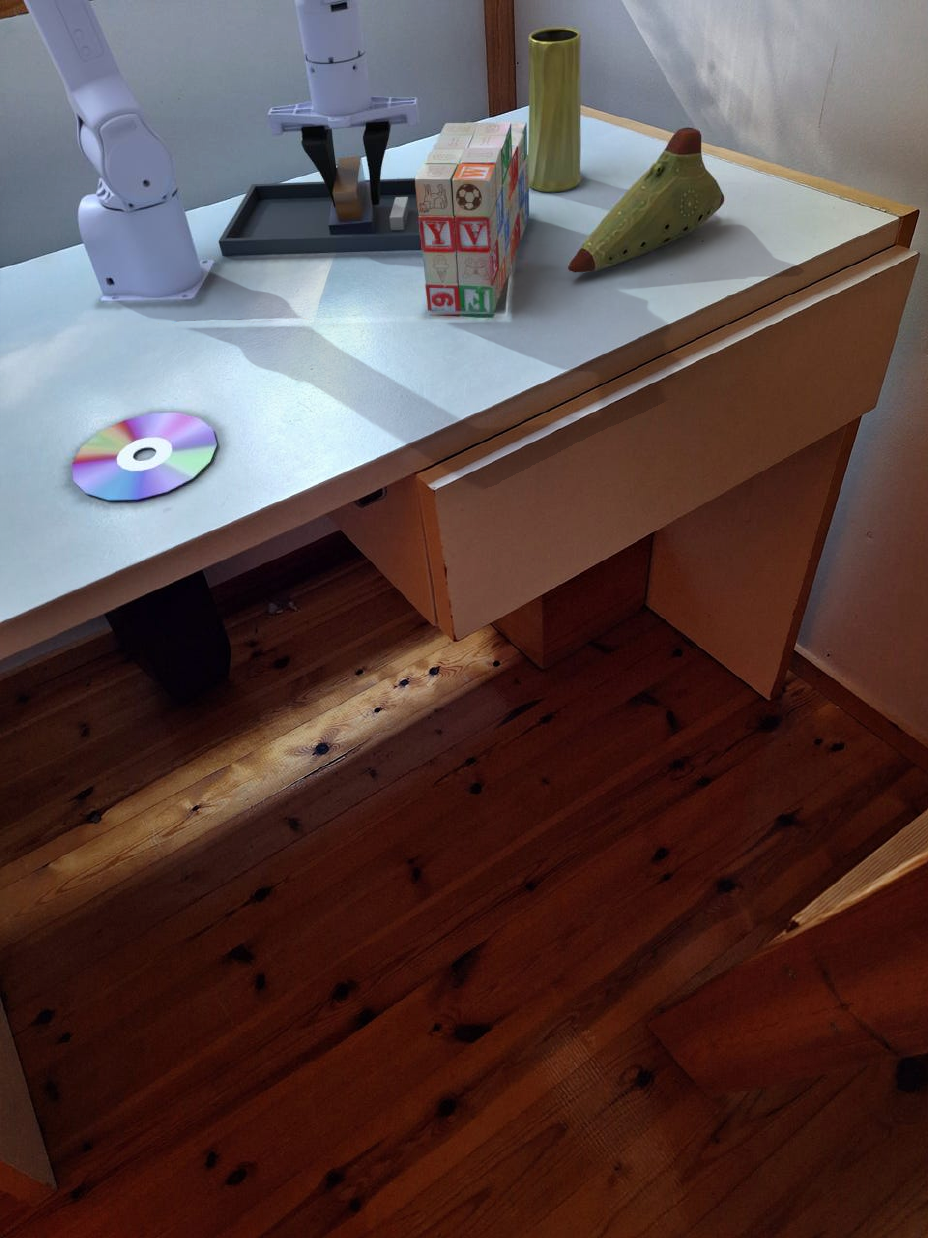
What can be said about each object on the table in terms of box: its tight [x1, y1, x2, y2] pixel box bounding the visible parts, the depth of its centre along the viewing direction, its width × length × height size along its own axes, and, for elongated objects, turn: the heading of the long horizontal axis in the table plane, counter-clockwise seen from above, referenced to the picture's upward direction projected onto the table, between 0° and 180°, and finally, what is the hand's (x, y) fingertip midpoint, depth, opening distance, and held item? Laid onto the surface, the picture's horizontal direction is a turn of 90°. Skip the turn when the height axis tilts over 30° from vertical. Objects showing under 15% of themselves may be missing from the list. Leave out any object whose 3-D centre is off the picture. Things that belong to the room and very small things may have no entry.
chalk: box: [390, 197, 410, 231], centre depth 95 cm, size 1×5×1 cm, turn 176°
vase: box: [527, 26, 583, 193], centre depth 96 cm, size 6×6×14 cm
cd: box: [71, 412, 218, 501], centre depth 70 cm, size 11×11×1 cm
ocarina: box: [567, 126, 725, 273], centre depth 84 cm, size 20×5×10 cm, turn 126°
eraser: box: [328, 155, 377, 235], centre depth 94 cm, size 8×4×4 cm, turn 0°
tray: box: [218, 177, 422, 257], centre depth 96 cm, size 21×14×2 cm
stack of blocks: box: [414, 121, 530, 319], centre depth 84 cm, size 21×6×12 cm, turn 169°
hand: (357, 202), depth 94 cm, fingers closed on eraser, 3 cm apart
